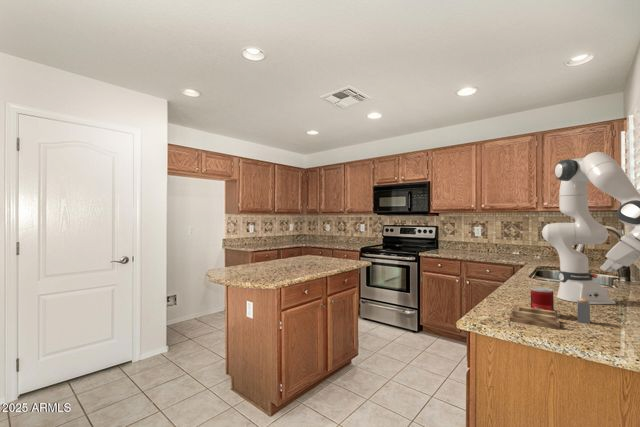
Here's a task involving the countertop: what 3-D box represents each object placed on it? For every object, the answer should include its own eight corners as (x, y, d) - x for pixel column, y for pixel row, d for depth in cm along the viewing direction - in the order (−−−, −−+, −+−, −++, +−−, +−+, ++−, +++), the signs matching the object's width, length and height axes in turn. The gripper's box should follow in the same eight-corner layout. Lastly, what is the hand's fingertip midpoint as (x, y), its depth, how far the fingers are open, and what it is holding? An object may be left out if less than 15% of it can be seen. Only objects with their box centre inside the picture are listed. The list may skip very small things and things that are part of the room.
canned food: (557, 317, 126) (557, 291, 126) (536, 316, 128) (535, 290, 128) (547, 312, 134) (547, 287, 134) (527, 310, 135) (527, 286, 135)
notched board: (558, 321, 122) (558, 311, 122) (559, 329, 113) (559, 318, 113) (511, 313, 131) (511, 304, 131) (509, 320, 122) (509, 311, 123)
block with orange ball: (589, 321, 121) (588, 298, 121) (590, 324, 118) (589, 300, 118) (577, 319, 123) (576, 297, 124) (578, 322, 121) (577, 299, 121)
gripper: (635, 241, 117) (604, 266, 123) (622, 234, 106) (589, 262, 112) (654, 253, 113) (621, 278, 119) (642, 246, 101) (606, 275, 107)
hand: (605, 270), depth 115 cm, fingers open, 8 cm apart
